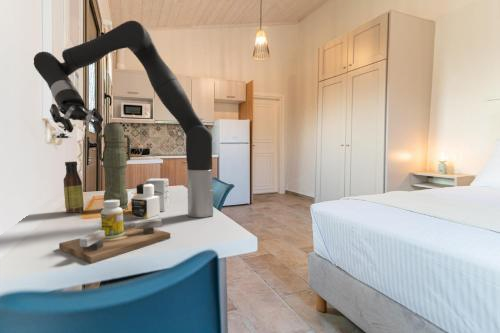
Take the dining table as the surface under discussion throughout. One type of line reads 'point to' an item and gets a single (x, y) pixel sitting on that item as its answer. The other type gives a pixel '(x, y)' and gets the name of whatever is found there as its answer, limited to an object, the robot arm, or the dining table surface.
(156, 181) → the supplement box
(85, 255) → the shaft board
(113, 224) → the supplement bottle
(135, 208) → the medicine bottle
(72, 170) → the sauce bottle
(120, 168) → the thermos
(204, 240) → the dining table surface
